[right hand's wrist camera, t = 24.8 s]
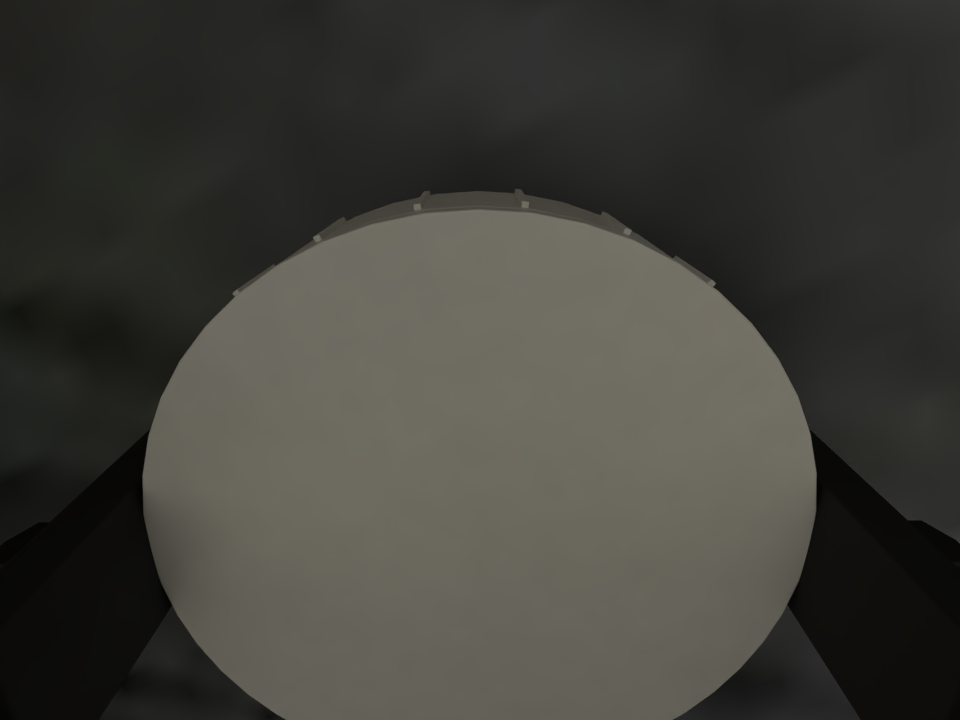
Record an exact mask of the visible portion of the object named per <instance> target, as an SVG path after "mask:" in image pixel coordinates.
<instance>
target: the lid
mask: <svg viewBox="0 0 960 720" xmlns="http://www.w3.org/2000/svg"><path fill="white" fill-rule="evenodd" d="M313 239H314V240H312V241H311V242H309V243H308V244H306V245H305V246H304V247H302V248H301V249H299V250H298V251H296V252H295V253H294V254H292V255H291V256H289V257H288V258H286V259H285V260H284V261H282V262H281V263H279V264H278V265H276V266H275V265H274V264H273V265H272V266H270V267H269V268H267V269H266V270H265V271H263V272H262V273H260V274H259V275H257V276H256V277H254V278H253V279H251V280H250V281H248V282H247V283H246V284H244V285H243V286H241V287H240V288H238V289H237V290H236V291H235V292H233V295H234V296H235V297H234V298H233V299H232V300H231V301H230V302H229V303H228V304H227V305H226V306H225V307H224V308H223V309H222V310H221V311H220V312H219V313H218V314H217V315H216V316H215V317H214V318H213V319H212V320H211V321H210V322H209V323H208V324H207V325H206V326H205V327H204V329H203V330H202V331H201V333H200V334H199V335H198V337H197V338H196V339H195V341H194V342H193V344H192V345H191V346H190V348H189V349H188V350H187V352H186V353H185V354H184V356H183V357H182V359H181V360H180V361H179V363H178V365H177V367H176V369H175V371H174V373H173V375H172V377H171V379H170V381H169V383H168V385H167V387H166V389H165V391H164V393H163V394H162V396H161V398H160V402H159V405H158V408H157V411H156V414H155V417H154V420H153V423H152V427H151V430H150V433H149V436H148V442H147V449H146V456H145V463H144V469H143V515H144V520H145V524H146V529H147V533H148V537H149V542H150V546H151V550H152V554H153V558H154V561H155V565H156V568H157V572H158V575H159V578H160V581H161V584H162V586H163V588H164V590H165V592H166V594H167V596H168V598H169V600H170V602H171V604H172V606H173V608H174V610H175V612H176V613H177V615H178V617H179V618H180V620H181V621H182V623H183V624H184V625H185V627H186V628H187V630H188V631H189V633H190V634H191V636H192V637H193V638H194V640H195V641H196V643H197V644H198V645H199V646H200V648H201V649H202V650H203V651H204V652H205V653H206V654H207V655H208V657H209V658H210V659H211V660H212V661H213V662H214V663H215V664H216V665H217V667H218V668H219V669H220V670H221V671H222V672H223V673H224V674H226V675H227V676H228V677H229V678H230V679H231V680H232V681H233V682H235V683H236V684H237V685H238V686H239V687H240V688H241V689H243V690H244V691H245V692H246V693H247V694H248V695H250V696H251V697H253V698H254V699H255V700H257V701H258V702H260V703H261V704H263V705H264V706H265V707H267V708H268V709H270V710H271V711H273V712H274V713H275V714H277V715H279V716H281V717H282V718H284V719H286V720H673V719H675V718H677V717H678V716H680V715H682V714H684V713H685V712H687V711H688V710H689V709H691V708H692V707H694V706H695V705H696V704H698V703H699V702H701V701H702V700H703V699H705V698H706V697H708V696H709V695H710V694H712V693H713V692H714V691H716V690H717V689H718V688H719V687H720V686H721V685H722V684H723V683H725V682H726V681H727V680H728V679H729V678H730V677H731V676H732V675H733V674H735V673H736V672H737V671H738V670H739V669H740V668H741V667H742V666H743V665H744V663H745V662H746V661H747V660H748V659H749V658H750V657H751V656H752V654H753V653H754V652H755V651H756V650H757V649H758V648H759V646H760V645H761V644H762V643H763V642H764V640H765V639H766V637H767V636H768V634H769V633H770V632H771V630H772V629H773V627H774V626H775V624H776V623H777V621H778V620H779V618H780V617H781V615H782V614H783V612H784V610H785V608H786V606H787V604H788V602H789V600H790V598H791V596H792V594H793V592H794V590H795V588H796V586H797V584H798V582H799V579H800V576H801V573H802V569H803V566H804V562H805V558H806V555H807V551H808V547H809V543H810V539H811V534H812V530H813V525H814V521H815V515H816V478H817V473H816V466H815V460H814V454H813V447H812V441H811V435H810V431H809V428H808V425H807V422H806V419H805V416H804V413H803V410H802V407H801V404H800V401H799V398H798V395H797V393H796V391H795V390H794V388H793V386H792V384H791V382H790V380H789V378H788V376H787V374H786V372H785V370H784V369H783V367H782V365H781V363H780V361H779V359H778V358H777V356H776V355H775V354H774V352H773V351H772V349H771V348H770V347H769V346H768V344H767V343H766V342H765V340H764V339H763V338H762V336H761V335H760V334H759V332H758V331H757V330H756V328H755V327H754V326H753V324H752V323H751V322H750V321H749V320H748V319H747V318H746V317H745V316H744V315H743V314H742V313H741V312H740V311H739V310H738V309H736V308H735V307H734V306H733V305H732V304H731V303H730V302H729V301H728V300H727V299H726V298H725V297H724V296H723V295H722V294H721V293H720V292H719V291H718V290H716V289H715V288H714V287H713V286H714V285H715V284H716V283H715V282H714V281H713V280H711V279H710V278H708V277H707V276H705V275H704V274H703V273H701V272H700V271H698V270H697V269H695V268H694V267H692V266H691V265H689V264H688V263H686V262H685V261H683V260H682V259H680V258H679V257H677V256H675V257H674V258H671V257H670V256H668V255H667V254H666V253H664V252H663V251H661V250H660V249H658V248H657V247H656V246H654V245H653V244H651V243H650V242H648V241H647V240H645V239H644V238H643V237H641V236H640V235H638V234H636V233H634V232H632V230H631V229H629V228H628V227H626V226H625V225H624V224H622V223H621V222H619V221H618V220H616V219H615V218H614V217H612V216H611V215H609V214H608V213H606V212H602V213H601V215H598V214H595V213H592V212H589V211H587V210H584V209H581V208H578V207H575V206H572V205H569V204H567V203H564V202H559V201H554V200H549V199H544V198H540V197H535V196H530V195H525V194H524V193H523V192H522V190H521V189H515V193H501V192H485V191H472V192H459V193H445V194H434V195H431V194H430V191H424V192H423V194H422V195H421V196H420V197H419V198H415V199H410V200H406V201H401V202H396V203H392V204H390V205H387V206H384V207H381V208H378V209H376V210H373V211H370V212H367V213H365V214H362V215H359V216H356V217H354V218H352V219H350V220H348V221H346V219H345V217H343V218H341V219H339V220H337V221H336V222H334V223H333V224H332V225H330V226H329V227H327V228H326V229H324V230H323V231H321V232H320V233H318V234H317V235H315V236H314V237H313Z"/></svg>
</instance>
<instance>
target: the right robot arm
mask: <svg viewBox="0 0 960 720" xmlns="http://www.w3.org/2000/svg"><path fill="white" fill-rule="evenodd" d="M150 430H151V429H150ZM150 430H149V431H148V432H147V433H146V434H145V435H144V436H142V437H141V438H140V439H139V440H138V441H137V442H136V443H135V444H134V445H133V446H132V447H131V448H130V449H128V450H127V451H126V452H125V453H124V454H123V455H122V456H121V457H120V458H119V459H118V460H117V461H116V462H114V463H113V464H112V465H111V466H110V467H109V468H108V469H107V470H106V471H105V472H104V473H103V474H101V475H100V476H99V477H98V478H97V479H96V480H95V481H94V482H93V483H92V484H91V485H90V486H89V487H87V488H86V489H85V490H84V491H83V492H82V493H81V494H80V495H79V496H78V497H77V498H76V499H75V500H73V501H72V502H71V503H70V504H69V505H68V506H67V507H66V508H65V509H64V510H63V511H62V512H61V513H59V514H58V515H57V516H56V517H55V518H54V519H53V520H52V521H51V522H50V523H37V524H36V525H34V526H32V527H30V528H29V529H27V530H25V531H23V532H22V533H20V534H18V535H16V536H15V537H13V538H11V539H9V540H8V541H6V542H4V543H3V544H2V545H1V546H0V720H99V718H100V717H101V715H102V714H103V712H104V711H105V709H106V708H107V706H108V704H109V703H110V701H111V700H112V698H113V697H114V695H115V693H116V692H117V690H118V689H119V687H120V686H121V684H122V682H123V681H124V679H125V678H126V676H127V675H128V673H129V672H130V670H131V668H132V667H133V665H134V664H135V662H136V661H137V659H138V657H139V656H140V654H141V653H142V651H143V650H144V648H145V646H146V645H147V643H148V642H149V640H150V639H151V637H152V636H153V634H154V632H155V631H156V629H157V628H158V626H159V625H160V623H161V621H162V620H163V618H164V617H165V615H166V614H167V612H168V611H169V609H170V607H171V606H172V604H171V602H170V600H169V598H168V596H167V594H166V592H165V590H164V588H163V586H162V584H161V581H160V578H159V575H158V572H157V568H156V565H155V561H154V558H153V554H152V550H151V546H150V542H149V537H148V533H147V529H146V524H145V520H144V515H143V469H144V463H145V456H146V449H147V442H148V436H149V433H150ZM809 431H810V435H811V441H812V447H813V454H814V460H815V466H816V473H817V478H816V515H815V521H814V525H813V530H812V534H811V539H810V543H809V547H808V551H807V555H806V558H805V562H804V566H803V569H802V573H801V576H800V579H799V582H798V584H797V586H796V588H795V590H794V592H793V594H792V596H791V598H790V600H789V602H788V604H787V605H788V606H789V608H790V610H791V611H792V613H793V614H794V616H795V617H796V619H797V620H798V622H799V624H800V625H801V627H802V628H803V630H804V631H805V633H806V635H807V636H808V638H809V639H810V641H811V642H812V644H813V646H814V647H815V649H816V650H817V652H818V653H819V655H820V656H821V658H822V660H823V661H824V663H825V664H826V666H827V667H828V669H829V671H830V672H831V674H832V675H833V677H834V678H835V680H836V682H837V683H838V685H839V686H840V688H841V689H842V691H843V692H844V694H845V696H846V697H847V699H848V700H849V702H850V703H851V705H852V707H853V708H854V710H855V711H856V713H857V714H858V716H859V718H860V719H861V720H960V544H959V543H958V542H957V541H956V540H955V539H953V538H951V537H949V536H948V535H946V534H944V533H942V532H941V531H939V530H937V529H935V528H934V527H932V526H930V525H928V524H926V523H925V522H923V521H908V520H907V519H906V518H904V517H903V516H902V515H901V514H900V513H899V512H898V511H897V510H896V509H895V508H894V507H893V506H892V505H890V504H889V503H888V502H887V501H886V500H885V499H884V498H883V497H882V496H881V495H880V494H879V493H877V492H876V491H875V490H874V489H873V488H872V487H871V486H870V485H869V484H868V483H867V482H866V481H865V480H863V479H862V478H861V477H860V476H859V475H858V474H857V473H856V472H855V471H854V470H853V469H852V468H851V467H849V466H848V465H847V464H846V463H845V462H844V461H843V460H842V459H841V458H840V457H839V456H838V455H837V454H835V453H834V452H833V451H832V450H831V449H830V448H829V447H828V446H827V445H826V444H825V443H824V442H823V441H821V440H820V439H819V438H818V437H817V436H816V435H815V434H814V433H813V432H812V431H811V430H810V429H809Z"/></svg>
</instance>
